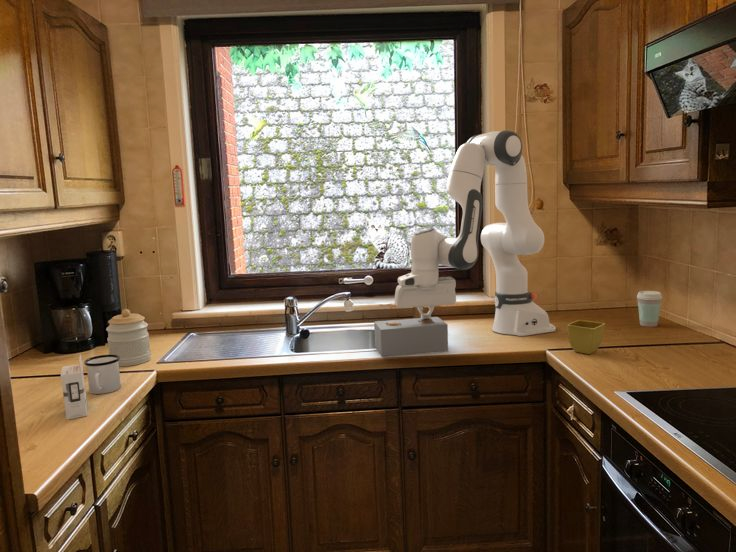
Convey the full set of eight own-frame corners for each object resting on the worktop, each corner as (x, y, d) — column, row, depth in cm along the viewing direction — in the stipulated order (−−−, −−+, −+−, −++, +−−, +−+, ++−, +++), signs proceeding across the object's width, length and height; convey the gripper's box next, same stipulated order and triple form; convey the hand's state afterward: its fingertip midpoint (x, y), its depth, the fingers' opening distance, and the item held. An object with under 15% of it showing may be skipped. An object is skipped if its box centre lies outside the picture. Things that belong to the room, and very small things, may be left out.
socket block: (438, 342, 212) (437, 316, 211) (448, 351, 201) (447, 324, 199) (375, 347, 209) (374, 321, 208) (381, 357, 197) (380, 329, 196)
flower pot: (605, 350, 194) (605, 322, 193) (593, 357, 188) (594, 328, 187) (578, 346, 200) (578, 319, 199) (566, 352, 194) (566, 324, 193)
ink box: (66, 409, 161) (60, 355, 159) (87, 406, 163) (81, 352, 161) (65, 420, 154) (58, 363, 152) (87, 416, 156) (81, 360, 154)
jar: (147, 365, 199) (142, 311, 197) (105, 368, 197) (99, 314, 195) (154, 354, 212) (149, 304, 209) (114, 357, 210) (109, 306, 207)
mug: (92, 385, 180) (89, 355, 179) (126, 382, 182) (123, 353, 180) (80, 399, 169) (76, 367, 167) (116, 396, 170) (113, 364, 169)
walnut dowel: (431, 343, 208) (430, 317, 206) (434, 346, 204) (433, 320, 203) (419, 343, 207) (418, 318, 206) (422, 347, 203) (421, 321, 202)
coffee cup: (642, 321, 230) (642, 289, 228) (665, 324, 224) (666, 291, 222) (631, 325, 225) (632, 293, 223) (655, 328, 218) (656, 295, 217)
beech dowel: (399, 346, 206) (398, 321, 205) (401, 349, 202) (401, 323, 201) (387, 347, 206) (386, 322, 204) (389, 350, 202) (388, 324, 200)
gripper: (452, 274, 207) (453, 315, 209) (393, 278, 204) (394, 319, 206) (458, 277, 201) (459, 319, 203) (396, 281, 197) (398, 323, 199)
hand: (425, 319), depth 204 cm, fingers closed
